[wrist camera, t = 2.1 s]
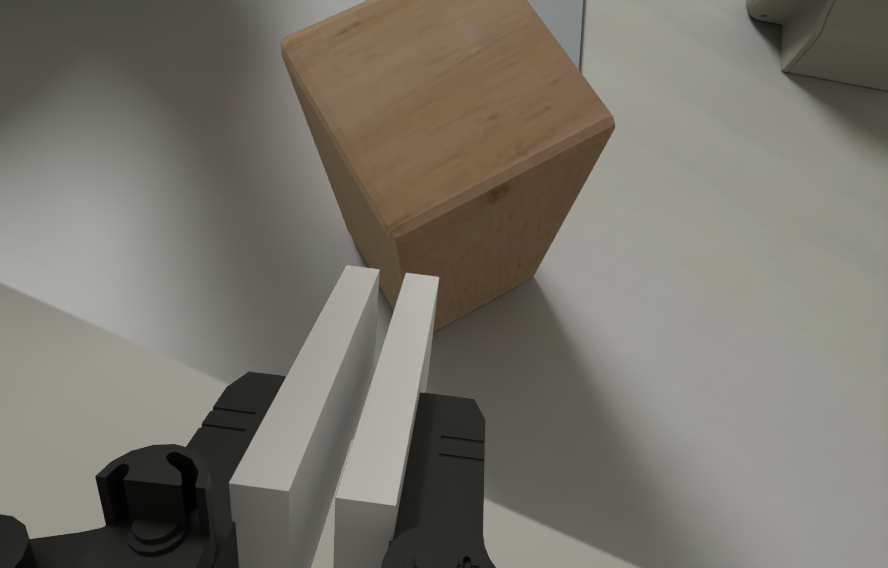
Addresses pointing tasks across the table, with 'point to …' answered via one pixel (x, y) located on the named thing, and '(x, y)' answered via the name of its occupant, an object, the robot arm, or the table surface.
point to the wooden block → (448, 138)
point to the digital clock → (831, 38)
